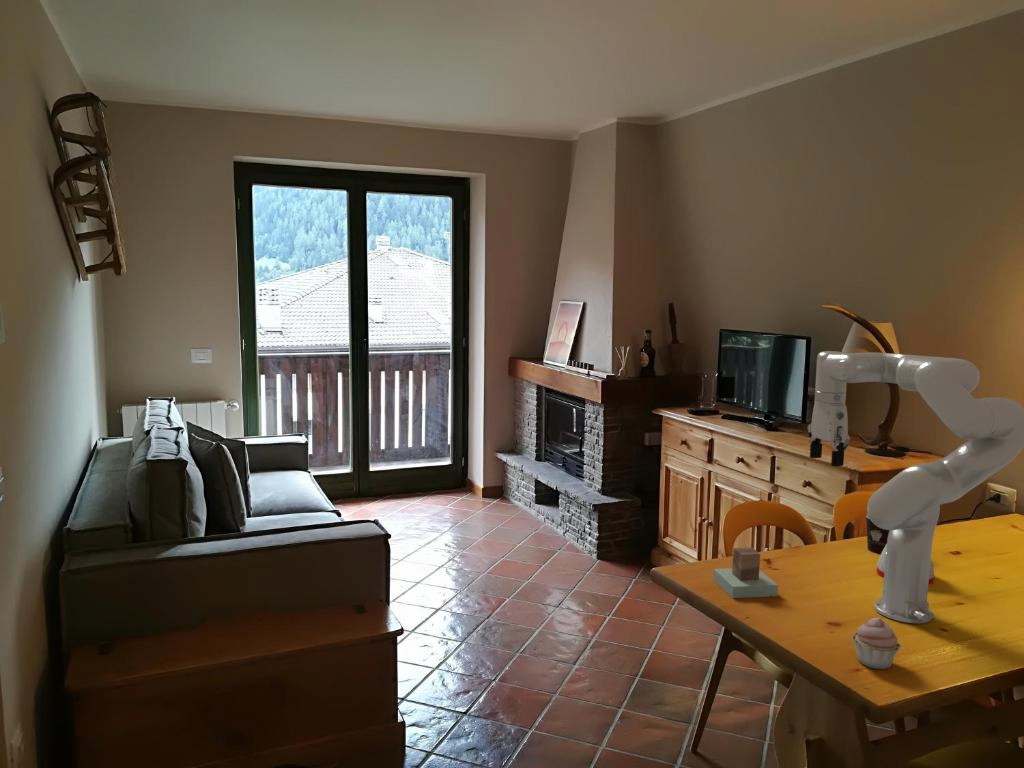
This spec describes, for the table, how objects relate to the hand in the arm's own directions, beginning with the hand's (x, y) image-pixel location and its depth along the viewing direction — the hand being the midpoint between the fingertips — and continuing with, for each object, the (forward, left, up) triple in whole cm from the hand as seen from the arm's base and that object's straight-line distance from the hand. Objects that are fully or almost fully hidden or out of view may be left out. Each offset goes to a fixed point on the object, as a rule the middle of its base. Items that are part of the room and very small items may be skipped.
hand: (826, 461), depth 201 cm
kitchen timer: (-2, -24, -32) cm, 40 cm away
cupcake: (-46, +14, -32) cm, 58 cm away
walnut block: (-5, +24, -29) cm, 38 cm away
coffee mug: (+16, -30, -32) cm, 47 cm away
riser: (-5, +24, -32) cm, 40 cm away
